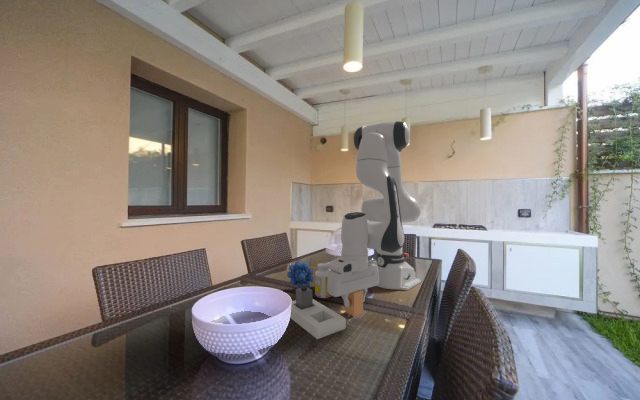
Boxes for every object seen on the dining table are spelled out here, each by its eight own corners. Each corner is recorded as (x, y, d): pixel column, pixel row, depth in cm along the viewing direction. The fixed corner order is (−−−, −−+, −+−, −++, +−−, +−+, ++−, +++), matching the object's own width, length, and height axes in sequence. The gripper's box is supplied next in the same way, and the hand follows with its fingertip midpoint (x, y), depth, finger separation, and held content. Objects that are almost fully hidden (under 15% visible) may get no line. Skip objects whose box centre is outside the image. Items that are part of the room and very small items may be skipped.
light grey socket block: (308, 307, 93) (308, 296, 92) (345, 331, 76) (345, 318, 76) (283, 315, 87) (283, 303, 87) (317, 342, 70) (317, 328, 70)
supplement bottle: (332, 294, 105) (332, 262, 105) (331, 300, 99) (331, 267, 99) (315, 293, 106) (315, 262, 106) (313, 300, 99) (313, 266, 99)
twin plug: (306, 310, 88) (306, 282, 88) (312, 314, 85) (312, 285, 85) (295, 313, 86) (295, 284, 86) (302, 317, 83) (301, 288, 83)
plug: (354, 310, 89) (354, 282, 89) (363, 314, 86) (363, 286, 86) (345, 313, 87) (345, 285, 87) (354, 318, 83) (354, 288, 83)
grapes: (288, 293, 106) (288, 264, 106) (286, 288, 112) (286, 260, 112) (316, 291, 109) (316, 262, 108) (312, 285, 115) (312, 258, 115)
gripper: (370, 255, 94) (369, 293, 95) (324, 264, 83) (324, 307, 83) (383, 259, 89) (383, 299, 90) (336, 269, 78) (336, 315, 78)
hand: (354, 303), depth 86 cm, fingers open, 5 cm apart
